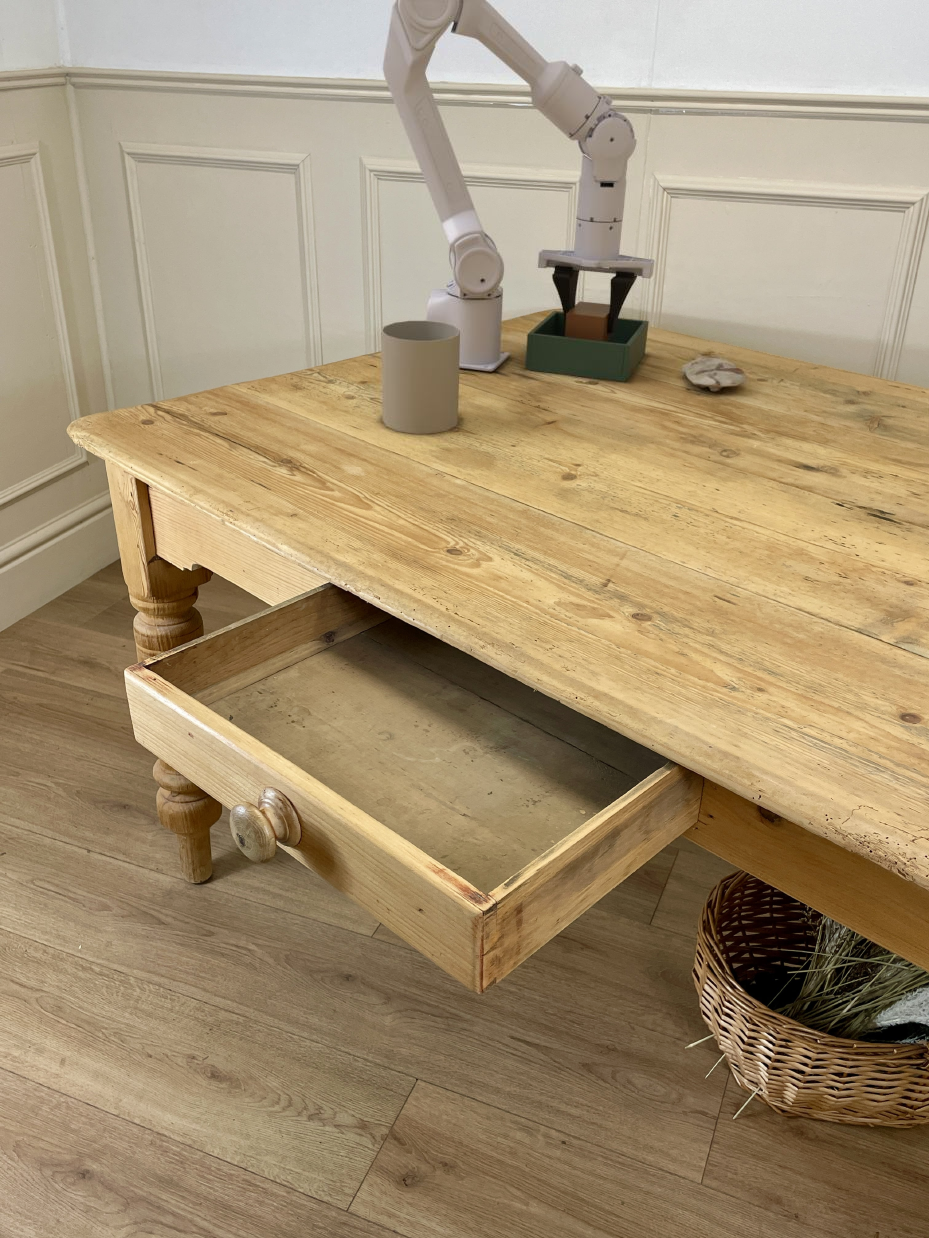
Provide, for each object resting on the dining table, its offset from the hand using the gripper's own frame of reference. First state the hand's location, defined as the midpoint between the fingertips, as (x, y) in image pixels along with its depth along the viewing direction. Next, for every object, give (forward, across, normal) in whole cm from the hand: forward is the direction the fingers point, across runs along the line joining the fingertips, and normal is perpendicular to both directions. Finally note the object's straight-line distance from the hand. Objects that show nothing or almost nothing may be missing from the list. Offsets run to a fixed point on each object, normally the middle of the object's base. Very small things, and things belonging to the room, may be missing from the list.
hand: (589, 329), depth 130 cm
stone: (+5, +17, -3) cm, 18 cm away
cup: (+4, -12, -30) cm, 33 cm away
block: (+1, 0, 0) cm, 1 cm away
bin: (+4, 0, 0) cm, 4 cm away
